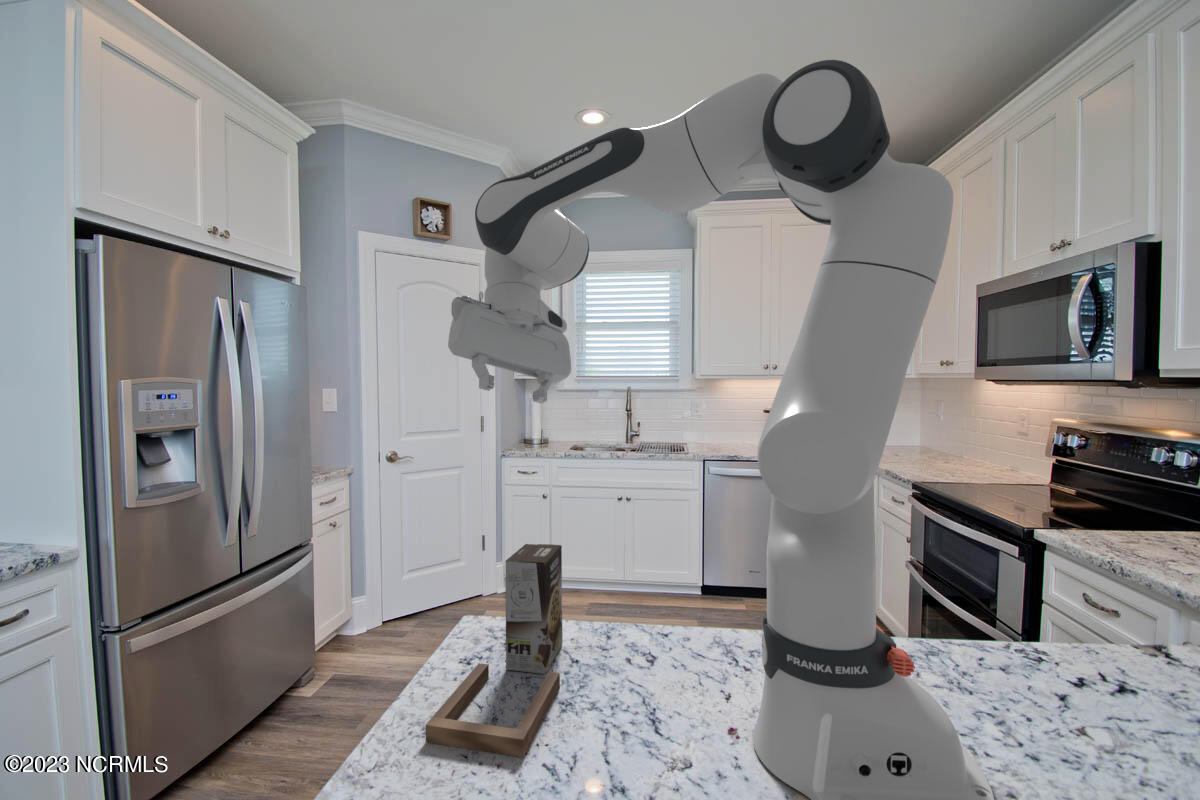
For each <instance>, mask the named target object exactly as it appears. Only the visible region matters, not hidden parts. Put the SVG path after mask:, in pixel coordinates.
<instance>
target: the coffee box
mask: <svg viewBox="0 0 1200 800" xmlns="http://www.w3.org/2000/svg"><path fill="white" fill-rule="evenodd" d="M562 550H563V549H562V545H561V544H545V543H544V544H543V543H541V544H532V543H531V544H530V543H526V544H524V545H522V547H520V548H519V549H518V550H516V551H515V552H514V553H513V554H511V556H510V557H508V558H507V559H506V560H505V669H506V671H507V670H509V671H517V672H525V673H534V674H539V675H540V674H541V675H544V674H547V673H548V671H549V668H550V667H551V666H552V663H553V662H554V660H555V658H556V656H557V655H558V652H559V650H560V649H561V647H562V646H563V582H562V581H563V570H562V569H563V568H562V567H563V563H562V559H563V558H562Z"/></svg>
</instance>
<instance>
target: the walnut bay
mask: <svg viewBox="0 0 1200 800" xmlns="http://www.w3.org/2000/svg"><path fill="white" fill-rule="evenodd" d="M489 671H490V670H489V664H488V663H487V664H486V663H478V664H477V665H476V666H475V667H474V668H473V669H472V670H471V672H470V673H469V674H468V675H467V676H466V678H465V679H464V680H463V681H462V682H461V683H460V684H459V686H457V688H456V689H455V690H454V692H452V693H451V694H450V695H449V697H448V699H446V701H444V703H443V704H442V705H441V706H440V707H439V709H438V710H437V711H436V712H435V713H434V714H433V716H432V717H431V718H430V719H429V720H428V721H427V722H426V724H425V743H428V744H435V745H442V746H449V747H454V748H455V747H456V748H461V749H465V750H466V749H468V750H471V751H472V750H473V751H479V752H486V753H492V754H500V755H506V756H510V755H511V756H512V757H516V756H517V758H524V757H525V756H526V754H527V752H528V750H529V748H530V746H531V744H532V742H533V740H534V738H535V736H536V734H537V733H538V731H539V729H540V726H541V725H542V723H543V721H544V719H545V717H546V715H547V713H548V712H549V709H550V707H551V706H552V704H553V702H554V700H555V698H556V695H557V694H558V692H559V690H560V687H561V680H560V679H561V676H560V675H561V674H560V672H557V671H556V672H555V671H548V672H547V675H546V676H545V678H544V679H543V681H542V683H541V685H540V687H539V689H538V690H537V692H536V693H535V695H534V697H533V698H532V700H531V702H530V704H529V705H528V707H527V708H526V711H525V712H524V714H523V716H522V717H521V718H520V721H519V722H518V724H517V726H516V728H512V727H506V726H499V725H492V724H485V723H478V722H470V721H465V720H458V718H460V716H461V715H462V713H464V711H465V710H466V708H467V707H468V706H469V704H470V703H471V702H472V701H473V699H474V698H475V696H476V695H477V694H478V693H479V692H480V691H481V689H482V688H483V687H484V685H485V684H486V683H487V681H488V680H489V678H490V675H489V673H490V672H489Z"/></svg>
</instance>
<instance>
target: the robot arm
mask: <svg viewBox="0 0 1200 800" xmlns="http://www.w3.org/2000/svg"><path fill="white" fill-rule="evenodd" d="M878 95H879V94H878V93H877V91H876V89H875V88H874V86H873V84H872V83H871V82H870V80H869V78H867V76H866V75H865V74H864V73H863V72H862V71H861V70H860V69H858V68H857V67H856V66H854V65H853V64H851V63H849V62H846V61H843V60H837V59H826V60H825V59H824V60H819V61H815V62H811V63H810V64H808V65H804V66H803V67H801V68H799V69H797V70H796V71H795V72H793V73H792V74H791V75H789V77H787V78H786V79H785V80H784V81H782V80H781V79H780V78H778V77H777V76H775V75H772V74H770V73H763V72H762V73H757V74H754V75H752V76H749V77H747V78H744V79H742V80H739V81H738V82H736V83H733V84H731V85H729V86H727V87H725V88H723V89H721V90H719V91H717V92H715V93H713V94H711V95H709V96H708V97H706V98H705V99H703V100H701V101H699V102H698V103H697V104H694V105H693V106H692V107H690V108H689V109H687V110H685V111H684V112H682V113H681V114H679V115H677V116H676V117H674V118H673V117H672V118H671V119H669V120H666V121H665V122H661V123H659V124H655V125H651V126H648V127H641V128H631V127H619V128H616V129H613V130H609V131H607V132H605V133H602V134H600V135H599V136H596V137H594V138H592V139H590V140H588V141H586V142H584V143H582V144H580V145H578V146H576V147H574V148H572V149H571V150H568V151H566V152H564V153H562V154H560V155H558V156H556V157H554V158H552V159H551V160H548V161H546V162H544V163H543V164H540V165H538V166H537V167H535V168H532V169H531V170H529V171H525V172H523V173H520V174H517V175H514V176H510V177H507V178H503V179H501V180H498V181H496V182H494V183H493V184H491V185H489V187H487V188H486V189H485V190H484V191H483V192H482V194H481V196H480V197H479V199H478V201H477V203H476V205H475V210H474V211H475V212H474V218H475V225H476V229H477V232H478V237H479V239H480V242H482V244H483V246H485V252H484V253H485V254H484V278H485V281H486V287H485V291H484V302H483V301H480V300H476V299H473V298H471V297H470V296H468V295H462V296H457V297H455V298H454V299H453V300H452V302H451V310H450V311H451V315H452V319H451V324H450V328H449V333H448V343H447V347H448V349H449V350H450V352H451V354H452V355H454V356H455V357H456V356H457V357H460V358H464V359H467V360H470V361H471V367H472V369H473V371H474V373H475V374H476V377H477V378H478V388H479V389H480V390H484V391H487V392H488V391H489V392H490V391H491V390H493V389H494V388H495V375H492V374H490V373H489V370H488V368H487V365H489V366H492V367H496V368H500V369H503V370H507V371H509V372H513V373H517V374H521V375H524V376H528V377H530V378H535V379H536V380H537V384H538V385H540V386H539V387H538V389H536V390H534V391H532V401H533V402H534V403H538V404H544V403H546V402H547V401H548V390H549V389H550V387H551V385H552V383H553V384H558V383H560V382H562V381H563V380H566V379H567V378H569V376H570V374H571V373H572V360H571V359H572V358H571V357H572V356H571V351H570V350H571V349H570V344H569V340H568V338H567V336H566V335H565V334H564V333H565V332H566V331H567V330H568V323H567V322H566V321H567V320H565V319H564V318H563V317H562V316H560V315H559V314H558V313H557V312H555V311H554V310H553V309H552V308H550V307H549V306H548V305H547V304H546V302H544V300H542V299H541V292H542V291H543V290H544V291H546V290H547V291H548V290H551V289H555V288H558V287H559V286H563V285H565V284H567V283H569V282H571V281H574V280H575V279H576V278H577V277H578V276H580V275H581V274H582V272H583V270H584V269H585V267H586V264H587V262H588V260H589V259H588V258H589V253H590V243H589V239H588V236H587V234H586V233H585V231H583V230H582V229H581V228H580V227H579V226H577V225H576V223H574V222H573V221H571V220H570V219H569V218H568V217H567V216H565V215H564V214H562V213H561V212H559V211H558V210H559V209H560V208H563V207H565V206H566V205H569V204H571V203H573V202H576V201H578V200H579V199H582V198H584V197H586V196H588V195H591V194H595V193H605V192H606V193H614V194H619V195H623V196H626V197H629V198H632V199H635V200H638V201H640V202H643V203H645V204H647V205H649V206H650V207H652V208H655V209H657V210H660V211H662V212H667V213H672V214H683V213H687V212H690V211H694V210H697V209H700V208H703V207H704V206H706V205H709V204H710V203H712V202H714V201H715V200H717V199H719V198H720V197H723V196H724V195H726V194H728V193H729V192H731V191H733V190H735V189H736V188H738V187H740V186H742V185H744V184H745V183H748V182H750V181H752V180H755V179H758V178H759V179H760V178H769V179H774V180H776V181H778V186H779V188H780V189H781V191H782V192H783V193H784V194H785V195H786V196H787V198H788V199H789V200H790V201H791V203H792V204H793V205H794V206H795V209H797V210H798V211H799V212H800V213H801V214H803V216H805V217H806V218H808V219H810V220H812V221H813V222H815V223H818V224H821V225H828V226H830V229H829V236H828V240H827V243H826V248H825V250H824V254H823V256H822V260H821V262H820V266H819V268H818V272H817V275H816V279H815V282H814V285H813V288H812V290H811V291H812V292H811V295H810V298H809V301H808V305H807V307H806V311H805V315H804V317H803V322H802V324H801V328H800V331H799V334H798V337H797V340H796V342H795V345H794V347H793V351H792V352H791V354H790V357H789V360H788V363H787V365H786V367H785V370H784V373H783V374H782V377H781V380H780V382H779V385H778V388H777V390H776V393H775V396H774V399H773V401H772V404H771V407H770V409H769V412H768V415H767V418H766V421H765V425H764V426H763V430H762V433H761V435H760V438H759V443H758V447H757V456H756V457H757V465H758V470H759V474H760V476H761V479H762V481H763V482H764V485H765V487H766V488H767V490H768V491H769V492H770V493H771V500H770V501H771V502H770V514H769V516H770V517H769V525H768V526H769V527H768V535H767V536H768V538H767V543H766V544H767V545H766V612H765V613H766V614H765V615H764V616H763V619H762V629H761V657H762V658H761V662H762V665H763V670H764V678H763V679H764V680H763V689H762V695H761V701H760V707H759V711H758V715H757V716H758V717H757V720H756V723H755V726H754V729H753V732H752V744H753V748H754V750H755V753H756V755H757V756H758V758H759V760H761V762H762V763H763V765H764V766H765V767H766V768H767V769H768V770H769V771H770V772H771V773H772V774H773V775H774V776H775V777H776V778H778V779H779V780H781V781H782V782H784V783H785V784H787V785H788V786H790V787H791V788H793V789H795V790H797V791H798V792H800V793H802V794H803V795H805V796H806V797H807V798H808V799H810V800H995V797H994V793H993V790H992V787H991V785H990V783H989V781H988V778H987V777H986V775H985V774H984V773H983V771H982V769H981V768H980V766H979V765H978V764H977V762H976V761H975V759H974V758H973V757H972V756H971V754H970V753H968V751H967V750H966V749H965V748H964V747H963V746H962V744H961V741H960V738H959V734H958V733H957V730H956V728H955V726H954V724H953V722H952V720H951V718H950V716H948V713H946V711H945V709H943V707H942V706H941V705H940V703H939V702H938V701H937V700H936V699H935V698H934V697H933V696H932V694H930V693H929V692H928V691H927V690H926V689H925V688H923V687H922V686H921V685H919V683H917V682H916V681H914V680H913V679H912V678H910V676H911V675H912V674H913V673H915V669H916V666H915V663H914V661H913V659H912V658H911V657H910V656H909V655H908V653H907V651H905V650H903V649H902V648H898V647H897V644H896V642H895V641H894V639H893V638H892V637H891V636H889V635H888V634H886V633H885V632H884V630H883V628H881V627H880V626H878V625H877V605H876V604H877V558H876V557H877V555H876V552H877V551H876V530H875V527H876V525H875V524H876V522H875V518H876V517H875V482H874V481H875V478H876V475H877V473H878V469H879V466H880V463H881V460H882V457H883V453H884V450H885V447H886V443H887V441H888V438H889V434H890V429H891V427H892V423H893V420H894V416H895V414H896V410H897V408H898V405H899V404H898V403H899V400H900V396H901V393H902V391H903V390H902V389H903V387H904V384H905V383H904V382H905V379H906V376H907V373H908V372H907V371H908V368H909V365H910V362H911V358H912V356H913V352H914V349H915V347H916V344H917V341H918V338H919V336H920V335H919V334H920V332H921V328H922V326H923V324H924V323H923V322H924V320H925V318H926V314H927V311H928V309H929V305H930V303H931V299H932V296H933V293H934V291H935V288H936V284H937V282H938V279H939V278H938V277H939V275H940V272H941V269H942V267H943V266H942V265H943V262H944V257H945V253H946V249H947V246H948V240H949V236H950V235H949V234H950V231H951V224H952V223H951V222H952V217H953V205H954V191H953V187H952V185H951V183H950V181H949V180H948V179H947V177H946V176H945V175H944V174H942V173H941V172H940V171H938V170H936V169H934V168H932V167H929V166H926V165H923V164H917V163H911V162H909V163H907V162H902V161H901V162H900V161H896V160H895V159H893V158H892V156H890V154H889V153H888V147H889V146H890V142H891V136H890V133H889V130H888V127H887V126H888V125H887V124H886V121H885V120H886V119H885V116H884V114H883V109H882V104H881V100H880V98H879V96H878Z"/></svg>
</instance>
